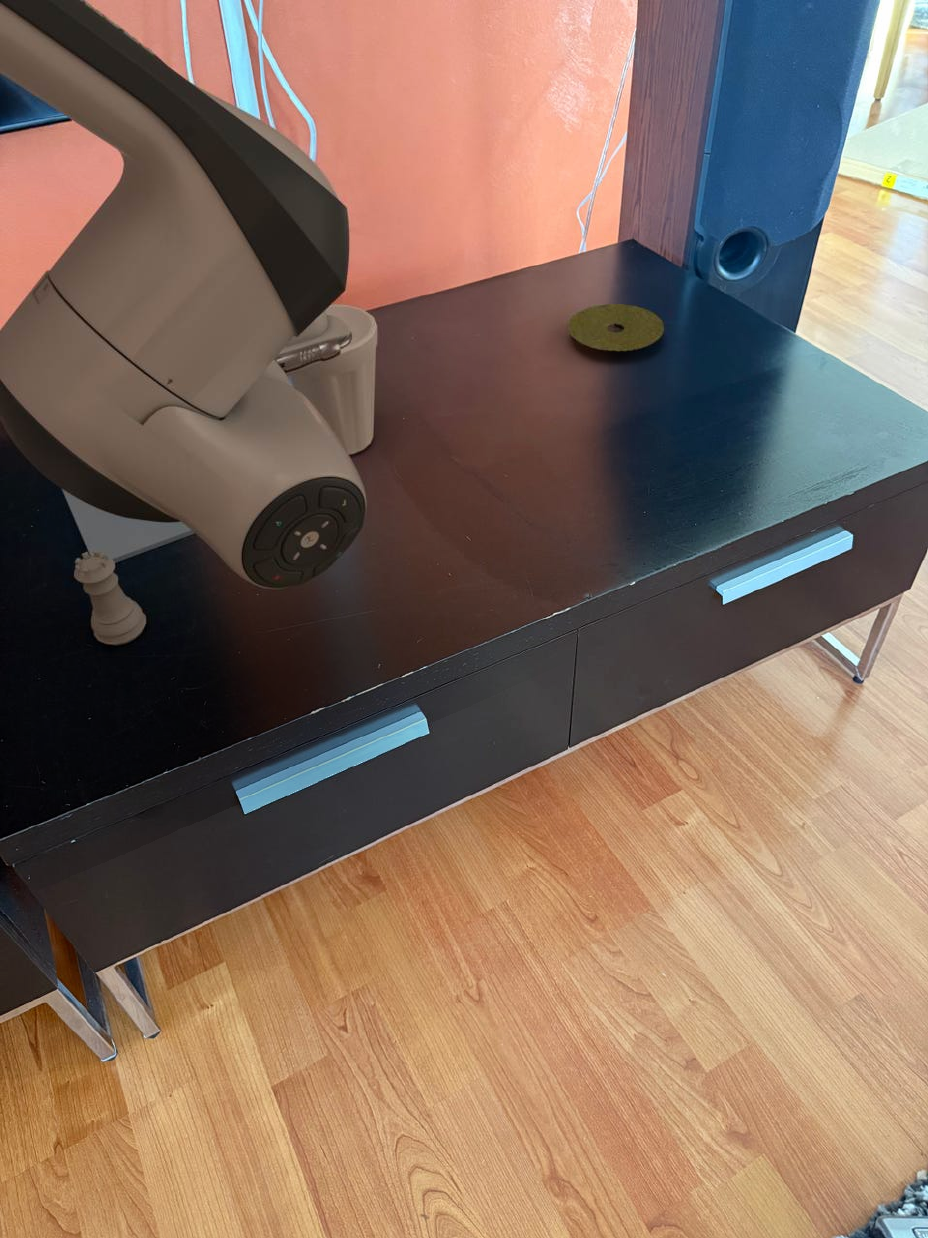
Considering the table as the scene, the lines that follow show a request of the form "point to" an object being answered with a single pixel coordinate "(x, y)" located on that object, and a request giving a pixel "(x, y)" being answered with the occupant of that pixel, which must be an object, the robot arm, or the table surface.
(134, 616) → the rook chess piece
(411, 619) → the table surface
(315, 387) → the cup
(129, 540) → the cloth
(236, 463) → the robot arm
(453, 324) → the table surface
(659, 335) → the olive disc with hole
